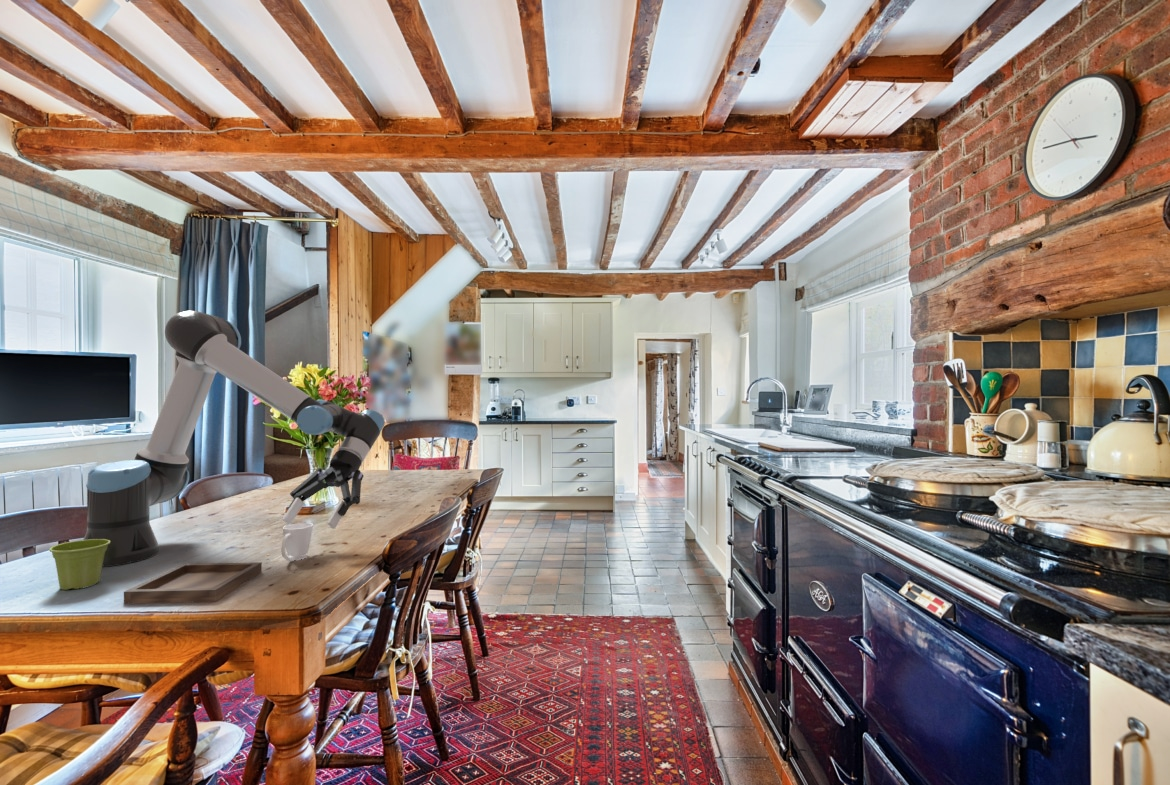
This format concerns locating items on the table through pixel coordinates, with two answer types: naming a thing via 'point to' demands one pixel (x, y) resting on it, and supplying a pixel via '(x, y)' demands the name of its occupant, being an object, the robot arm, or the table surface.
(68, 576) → the plant pot
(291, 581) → the table surface
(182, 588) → the tray
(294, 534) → the cup
